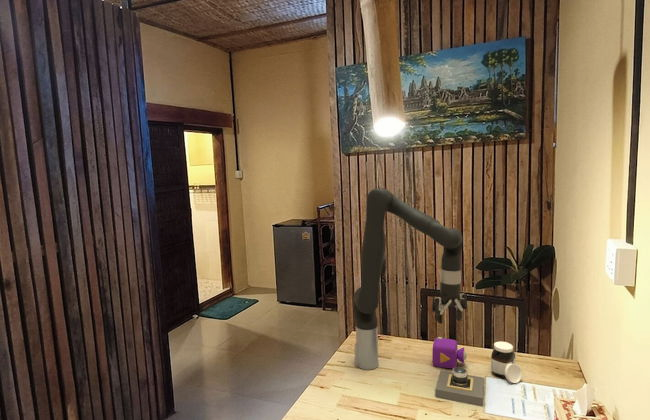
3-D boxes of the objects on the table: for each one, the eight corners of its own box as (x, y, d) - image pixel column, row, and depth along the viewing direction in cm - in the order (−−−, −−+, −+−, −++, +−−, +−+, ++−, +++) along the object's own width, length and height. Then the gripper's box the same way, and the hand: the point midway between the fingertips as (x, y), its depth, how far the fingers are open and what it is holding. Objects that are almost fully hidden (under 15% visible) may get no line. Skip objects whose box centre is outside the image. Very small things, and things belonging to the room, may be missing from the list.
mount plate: (435, 397, 143) (435, 387, 143) (440, 377, 156) (440, 369, 156) (482, 406, 137) (482, 396, 137) (484, 385, 150) (484, 376, 149)
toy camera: (468, 371, 160) (468, 348, 158) (433, 369, 162) (433, 346, 161) (464, 358, 170) (464, 336, 169) (431, 356, 173) (431, 334, 172)
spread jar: (498, 365, 164) (498, 338, 162) (527, 374, 156) (528, 346, 154) (485, 376, 156) (486, 348, 154) (515, 387, 147) (516, 358, 146)
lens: (451, 393, 145) (451, 372, 144) (453, 385, 150) (453, 365, 149) (467, 396, 143) (467, 374, 142) (468, 388, 148) (468, 367, 147)
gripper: (440, 285, 145) (439, 328, 147) (472, 281, 150) (471, 322, 151) (428, 280, 152) (427, 320, 154) (459, 276, 157) (458, 315, 159)
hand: (449, 321), depth 153 cm, fingers open, 8 cm apart
